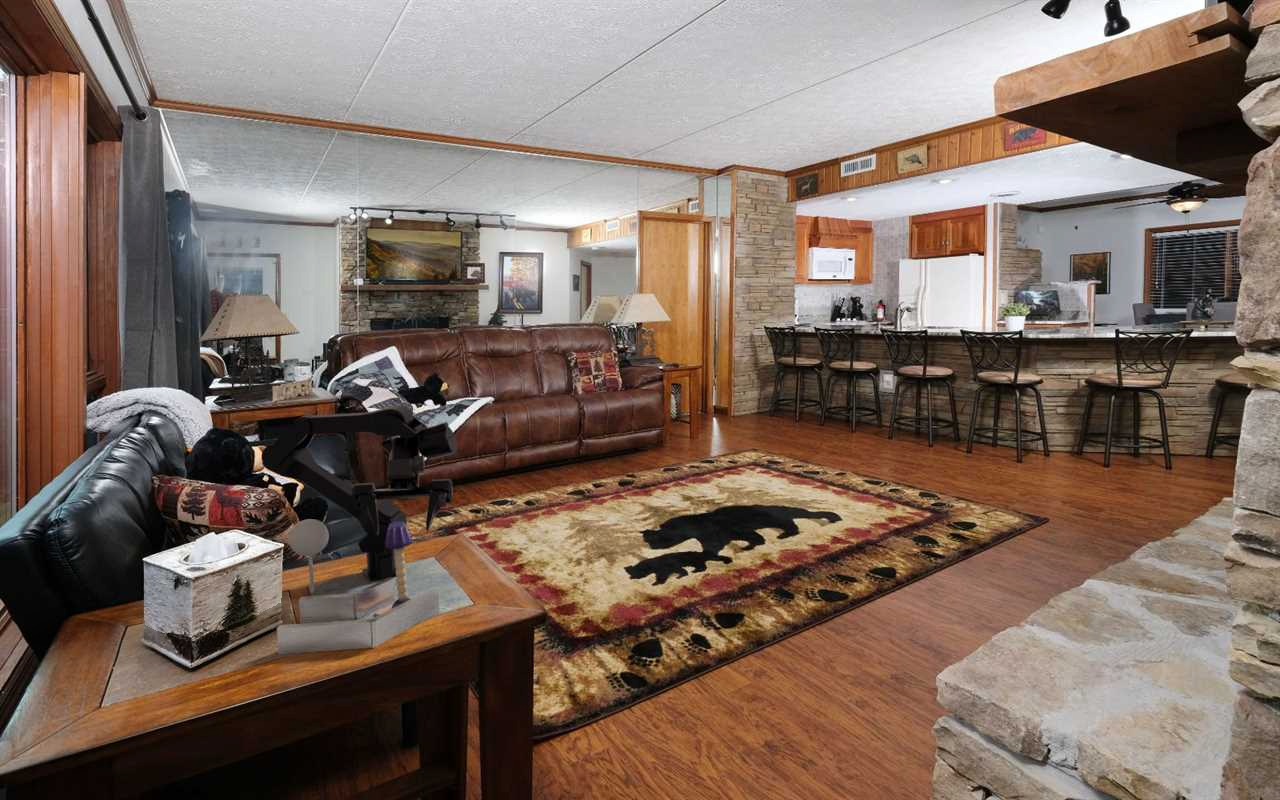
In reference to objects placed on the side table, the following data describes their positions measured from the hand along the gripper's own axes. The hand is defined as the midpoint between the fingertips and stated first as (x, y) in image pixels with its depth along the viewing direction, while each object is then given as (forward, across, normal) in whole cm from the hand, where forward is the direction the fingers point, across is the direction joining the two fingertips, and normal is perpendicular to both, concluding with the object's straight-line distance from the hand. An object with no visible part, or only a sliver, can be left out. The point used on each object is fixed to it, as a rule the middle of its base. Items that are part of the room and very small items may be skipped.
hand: (402, 532), depth 132 cm
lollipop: (+4, -18, +15) cm, 24 cm away
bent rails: (+17, -7, +2) cm, 18 cm away
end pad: (+14, 0, +6) cm, 15 cm away
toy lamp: (+13, 0, +6) cm, 14 cm away
